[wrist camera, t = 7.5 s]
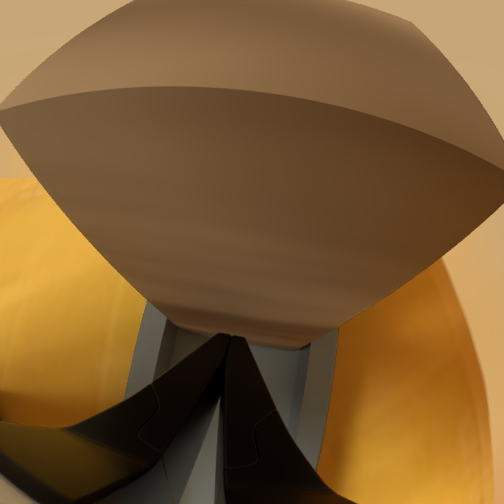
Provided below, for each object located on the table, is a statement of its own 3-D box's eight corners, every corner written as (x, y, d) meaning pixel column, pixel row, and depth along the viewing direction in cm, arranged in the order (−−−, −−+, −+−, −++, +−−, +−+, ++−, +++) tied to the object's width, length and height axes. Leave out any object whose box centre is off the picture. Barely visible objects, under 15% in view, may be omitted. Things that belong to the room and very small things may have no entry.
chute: (287, 552, 9) (296, 579, 6) (117, 518, 10) (95, 538, 7) (336, 298, 17) (356, 278, 14) (163, 268, 17) (148, 242, 14)
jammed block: (293, 351, 14) (524, 182, 2) (182, 331, 15) (-8, 113, 2) (303, 266, 16) (411, 22, 4) (203, 249, 17) (152, -9, 4)
